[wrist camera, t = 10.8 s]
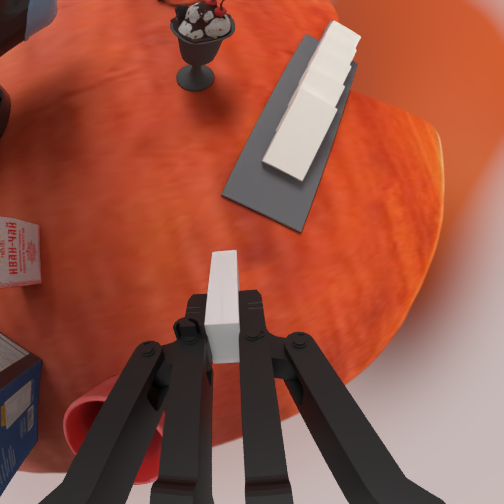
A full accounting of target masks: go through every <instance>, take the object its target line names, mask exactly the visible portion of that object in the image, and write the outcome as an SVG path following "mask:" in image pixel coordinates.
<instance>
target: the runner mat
mask: <svg viewBox="0 0 504 504" xmlns="http://www.w3.org/2000/svg"><path fill="white" fill-rule="evenodd" d="M318 43H319V41H318V40H316V39H314V38H313V37H311V36H309V35H307V34H306V35H305V36H304V38H303V40H302V41H301V43H300V45H299V46H298V48H297V50H296V52H295V53H294V55H293V57H292V59H291V60H290V62H289V64H288V66H287V67H286V69H285V71H284V73H283V74H282V76H281V78H280V80H279V82H278V84H277V85H276V87H275V89H274V91H273V93H272V95H271V96H270V98H269V100H268V102H267V104H266V106H265V108H264V110H263V111H262V113H261V115H260V117H259V119H258V121H257V123H256V125H255V127H254V129H253V131H252V133H251V135H250V137H249V139H248V141H247V143H246V145H245V147H244V149H243V151H242V153H241V155H240V157H239V159H238V161H237V163H236V165H235V167H234V169H233V171H232V173H231V175H230V178H229V180H228V182H227V184H226V186H225V188H224V190H223V192H222V195H221V196H223V197H226V198H228V199H230V200H232V201H234V202H237V203H239V204H241V205H243V206H245V207H247V208H249V209H252V210H254V211H256V212H258V213H260V214H262V215H264V216H266V217H268V218H271V219H273V220H275V221H277V222H279V223H281V224H283V225H285V226H287V227H289V228H291V229H293V230H295V231H297V232H299V233H300V232H301V231H302V228H303V226H304V223H305V220H306V218H307V215H308V212H309V209H310V207H311V204H312V201H313V198H314V196H315V193H316V190H317V187H318V184H319V182H320V179H321V176H322V173H323V170H324V167H325V164H326V161H327V159H328V156H329V153H330V150H331V147H332V144H333V141H334V138H335V135H336V132H337V129H338V126H339V123H340V119H341V116H342V113H343V110H344V107H345V104H346V101H347V97H348V94H349V91H350V87H351V84H352V81H353V78H354V74H355V71H356V68H357V63H355V62H354V61H351V63H350V66H352V67H351V69H350V71H349V73H348V75H347V77H346V79H345V81H344V83H343V85H344V86H345V88H344V90H343V92H342V94H341V96H340V98H339V100H338V102H337V104H336V106H335V108H337V109H338V110H337V112H336V114H335V116H334V118H333V120H332V122H331V124H330V126H329V128H328V130H327V132H326V134H325V136H324V138H323V140H322V142H321V145H320V147H319V149H318V151H317V153H316V155H315V157H314V159H313V161H312V163H311V165H310V167H309V169H308V171H307V173H306V175H305V177H304V179H303V181H299V180H297V179H295V178H293V177H291V176H289V175H287V174H286V173H284V172H282V171H280V170H278V169H276V168H274V167H272V166H270V165H268V164H266V163H264V162H262V159H263V157H264V155H265V153H266V151H267V149H268V147H269V145H270V143H271V141H272V139H273V137H274V136H275V134H276V132H275V131H276V129H277V127H278V125H279V123H280V121H281V119H282V117H283V115H284V114H285V112H286V110H287V108H288V106H287V105H288V104H289V102H290V100H291V98H292V96H293V94H294V92H295V90H296V89H297V87H298V85H299V84H298V83H299V81H300V79H301V77H302V75H303V74H304V72H305V70H306V68H307V65H308V63H309V61H310V59H311V58H312V56H313V54H314V51H315V49H316V47H317V45H318Z"/></svg>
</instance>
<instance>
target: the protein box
mask: <svg viewBox="0 0 504 504" xmlns="http://www.w3.org/2000/svg"><path fill="white" fill-rule="evenodd" d="M41 366H42V360H41V359H40V358H39V357H37V356H35V355H34V354H32V353H30V352H29V351H27V350H25V349H24V348H22V347H21V346H19V345H18V344H16V343H15V342H13V341H12V340H10V339H9V338H8V337H6V336H5V335H3V334H2V333H1V332H0V496H1V495H2V493H3V491H4V490H5V488H6V487H7V485H8V484H9V482H10V481H11V479H12V477H13V476H14V474H15V473H16V471H17V470H18V469H19V467H20V466H21V464H22V463H23V461H24V460H25V458H26V457H27V455H28V454H29V453H30V451H31V450H32V448H33V447H34V445H35V444H36V443H37V441H38V433H37V419H38V397H39V385H40V374H41Z"/></svg>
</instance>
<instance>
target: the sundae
mask: <svg viewBox="0 0 504 504" xmlns="http://www.w3.org/2000/svg"><path fill="white" fill-rule="evenodd" d="M223 1H224V0H222V2H221V4H220V7H218V6H217V1H216V0H206V1H199V2H197V3H195V4H194V5H192V6H191V7H188V5H187V4H184V5H179V6H175V12H176V17H175V18H173V19H171V24H170V28H171V30H172V32H173V33H174V34H175V35H176V36H177V37H178V40H179V47H180V52H181V56H182V58H183V60H184V61H185V62H186V63H188V64H190V65H187V66H185V67H183V68H182V69H180V70H179V72H178V74H177V78H176V79H177V82H178V84H179V85H180V86H181V87H182V88H184V89H186V90H190V91H200V90H203V89H206V88H208V87H209V86H210V85H211V84H212V83H213V81H214V73H213V71H212V70H211V69H210V68H209V67H207V66H205V64H207V63H209V62H211V61H212V60H213V59H214V57H215V56H216V54H217V52H218V50H219V47H220V45H221V43H222V41H223V39H226V38H228V37H230V36H231V35H232V34H233V33H234V31H235V23H234V20H233V19H232V18H231V16H230V15H229V14H226V12H227V11H226V9H225V8H223V7H222V3H223Z"/></svg>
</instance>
